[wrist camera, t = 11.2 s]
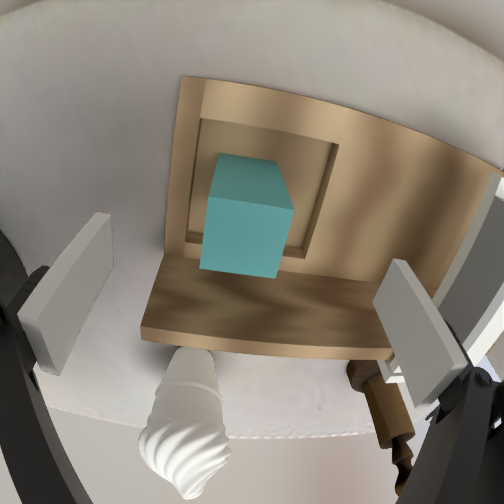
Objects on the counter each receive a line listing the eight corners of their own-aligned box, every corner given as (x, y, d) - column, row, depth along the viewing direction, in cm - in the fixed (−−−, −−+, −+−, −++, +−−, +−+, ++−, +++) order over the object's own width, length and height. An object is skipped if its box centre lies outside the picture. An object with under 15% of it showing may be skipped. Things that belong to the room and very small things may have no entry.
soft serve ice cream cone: (143, 358, 33) (117, 490, 19) (178, 318, 29) (153, 479, 16) (205, 386, 36) (199, 510, 22) (247, 353, 32) (253, 498, 19)
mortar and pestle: (404, 357, 35) (451, 482, 20) (364, 383, 37) (397, 506, 22) (380, 337, 32) (432, 484, 17) (335, 367, 35) (368, 509, 20)
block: (211, 204, 23) (199, 268, 16) (219, 152, 21) (208, 196, 14) (264, 213, 23) (275, 278, 17) (276, 162, 21) (294, 210, 15)
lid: (356, 308, 26) (397, 418, 17) (425, 135, 18) (541, 204, 9) (432, 313, 27) (480, 402, 18) (501, 171, 19) (594, 239, 10)
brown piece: (168, 253, 25) (141, 339, 17) (187, 76, 18) (147, 80, 10) (445, 289, 29) (487, 353, 21) (500, 169, 22) (569, 217, 14)
